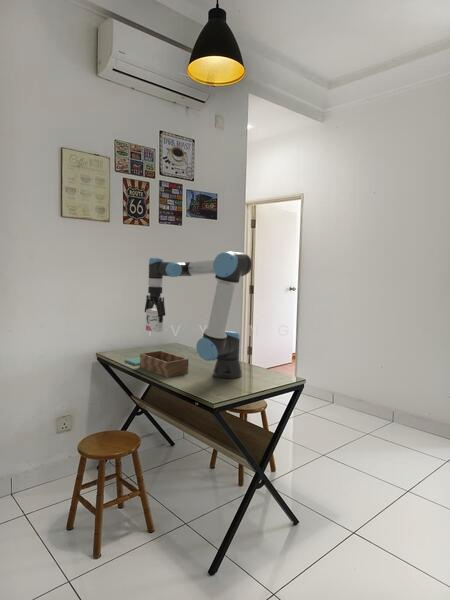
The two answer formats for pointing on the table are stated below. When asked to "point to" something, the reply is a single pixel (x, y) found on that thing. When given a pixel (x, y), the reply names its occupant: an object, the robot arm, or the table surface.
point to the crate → (164, 363)
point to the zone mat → (133, 361)
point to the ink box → (152, 320)
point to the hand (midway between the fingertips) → (154, 326)
